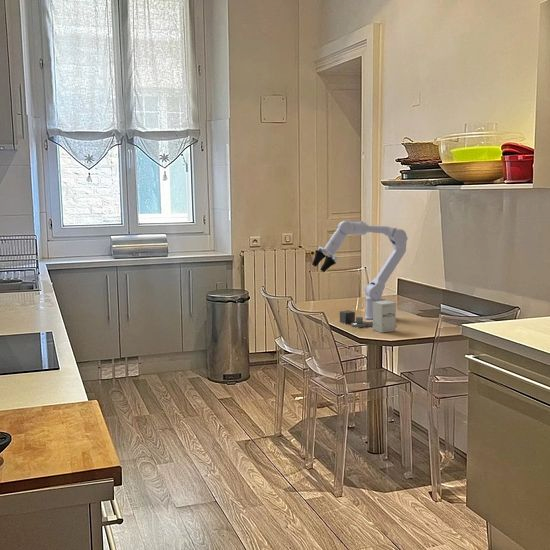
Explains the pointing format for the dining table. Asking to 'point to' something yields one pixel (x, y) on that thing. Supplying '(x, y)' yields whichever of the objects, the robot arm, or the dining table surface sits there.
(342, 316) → the dark grey cube
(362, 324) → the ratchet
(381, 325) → the supplement box
